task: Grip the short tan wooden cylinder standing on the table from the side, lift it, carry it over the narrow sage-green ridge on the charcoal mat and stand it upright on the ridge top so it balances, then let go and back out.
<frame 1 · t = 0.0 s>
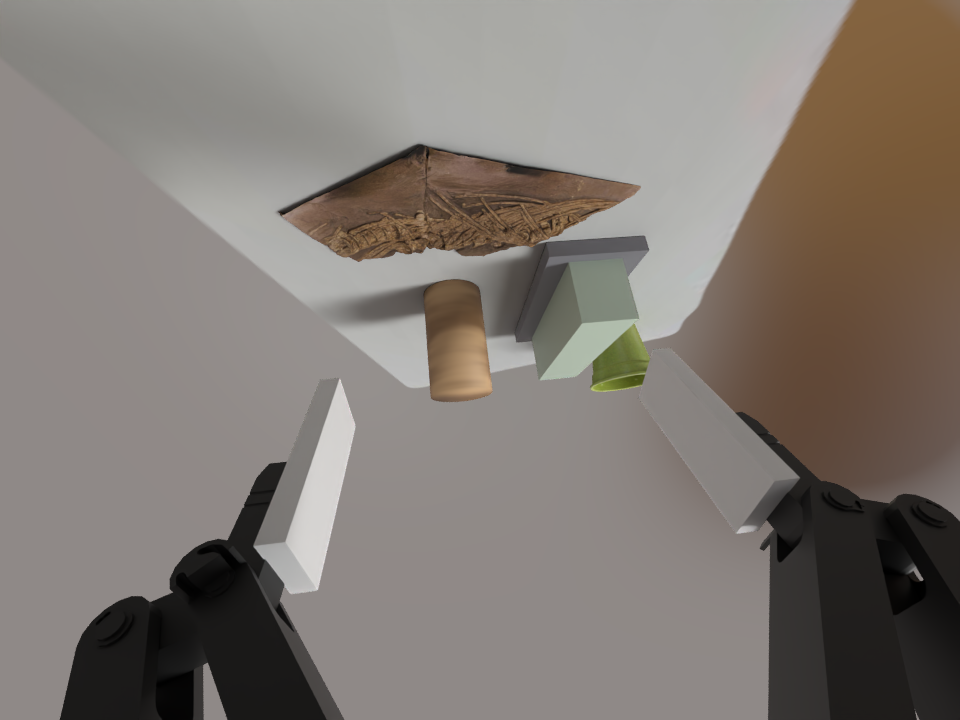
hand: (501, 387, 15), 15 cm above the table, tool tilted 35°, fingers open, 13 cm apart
wooden fragment: (466, 202, 26), on the table
plant pot: (611, 325, 52), on the table
tan wooden cylinder: (452, 294, 38), on the table
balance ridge: (565, 294, 41), on the table
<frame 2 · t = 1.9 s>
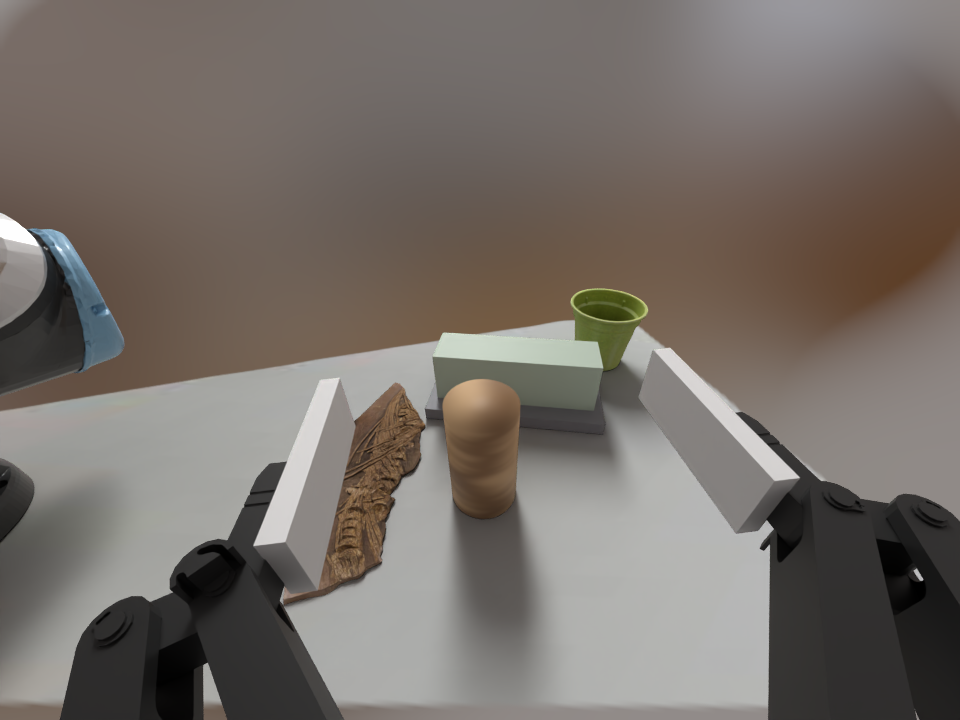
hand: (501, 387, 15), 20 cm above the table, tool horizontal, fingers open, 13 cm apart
wooden fragment: (366, 465, 37), on the table
plant pot: (596, 359, 51), on the table
tan wooden cylinder: (483, 489, 34), on the table
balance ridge: (514, 399, 44), on the table
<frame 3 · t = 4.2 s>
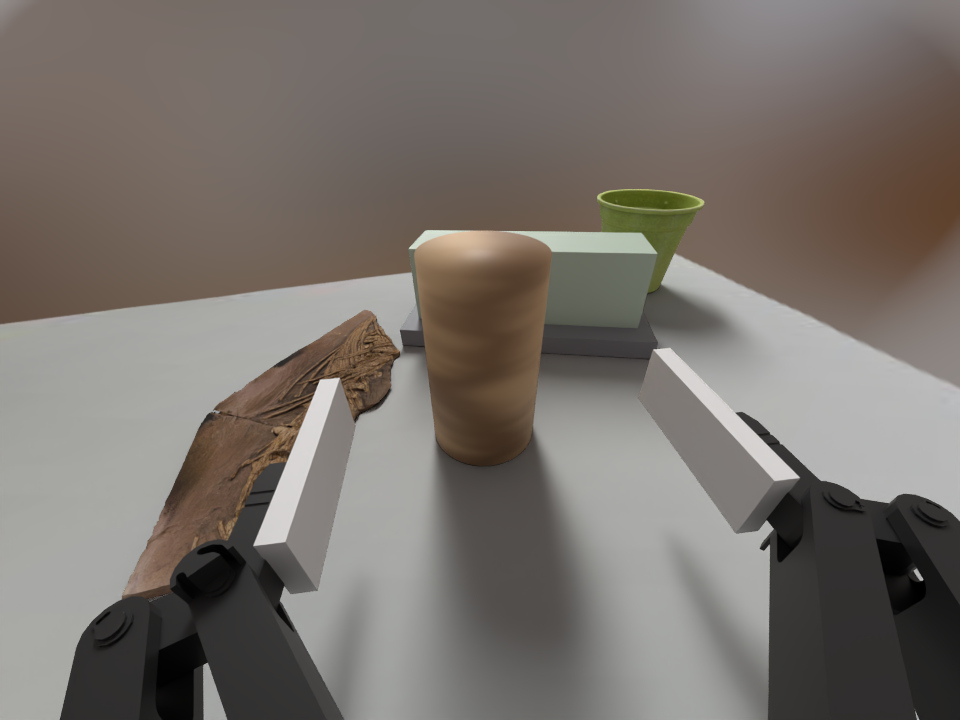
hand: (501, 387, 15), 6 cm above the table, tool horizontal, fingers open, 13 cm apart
wooden fragment: (310, 402, 25), on the table
plant pot: (628, 285, 39), on the table
tan wooden cylinder: (483, 426, 22), on the table
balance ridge: (524, 324, 32), on the table
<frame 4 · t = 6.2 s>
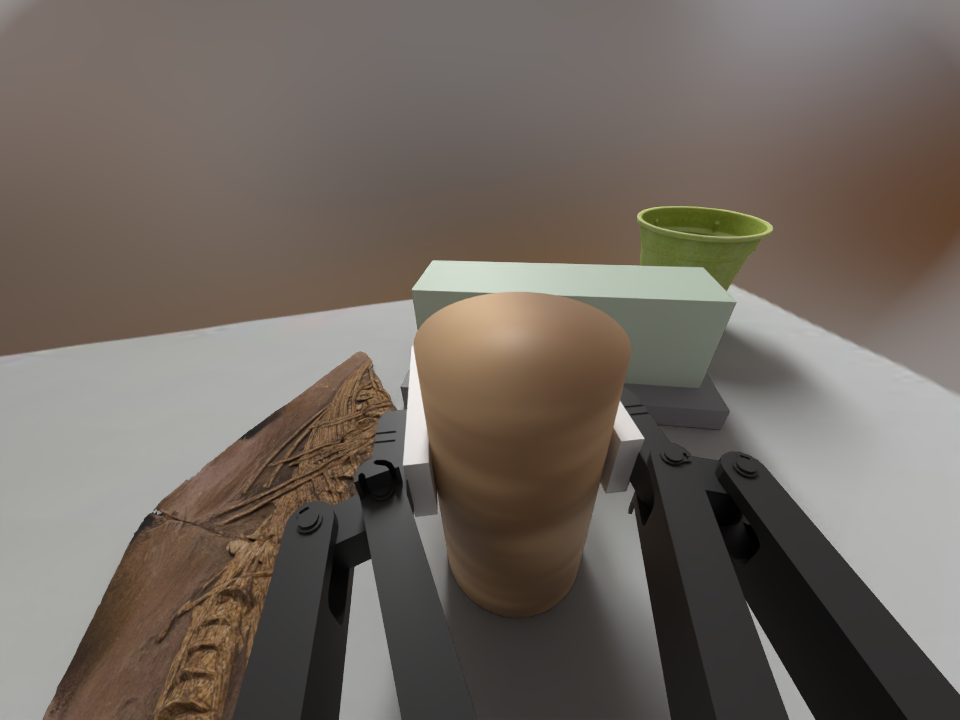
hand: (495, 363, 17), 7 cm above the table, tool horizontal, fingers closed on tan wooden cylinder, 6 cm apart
wooden fragment: (284, 491, 20), on the table
plant pot: (669, 318, 33), on the table
tan wooden cylinder: (512, 541, 16), on the table, touching gripper
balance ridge: (551, 373, 27), on the table
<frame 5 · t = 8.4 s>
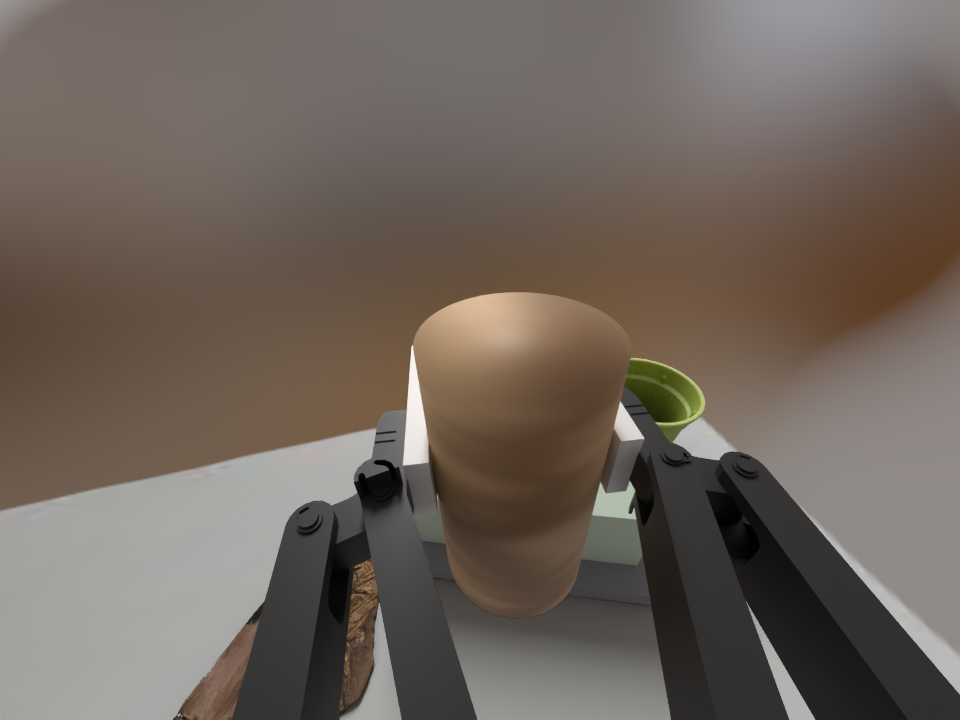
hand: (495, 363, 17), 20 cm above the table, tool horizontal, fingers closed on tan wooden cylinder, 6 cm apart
wooden fragment: (286, 681, 23), on the table
plant pot: (626, 451, 37), on the table
tan wooden cylinder: (512, 542, 16), point 14 cm above the table, touching gripper
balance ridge: (517, 531, 31), on the table
when the fingers open (15 cm above the table, at t = 10.5 s): tan wooden cylinder drops 1 cm, resting on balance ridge.
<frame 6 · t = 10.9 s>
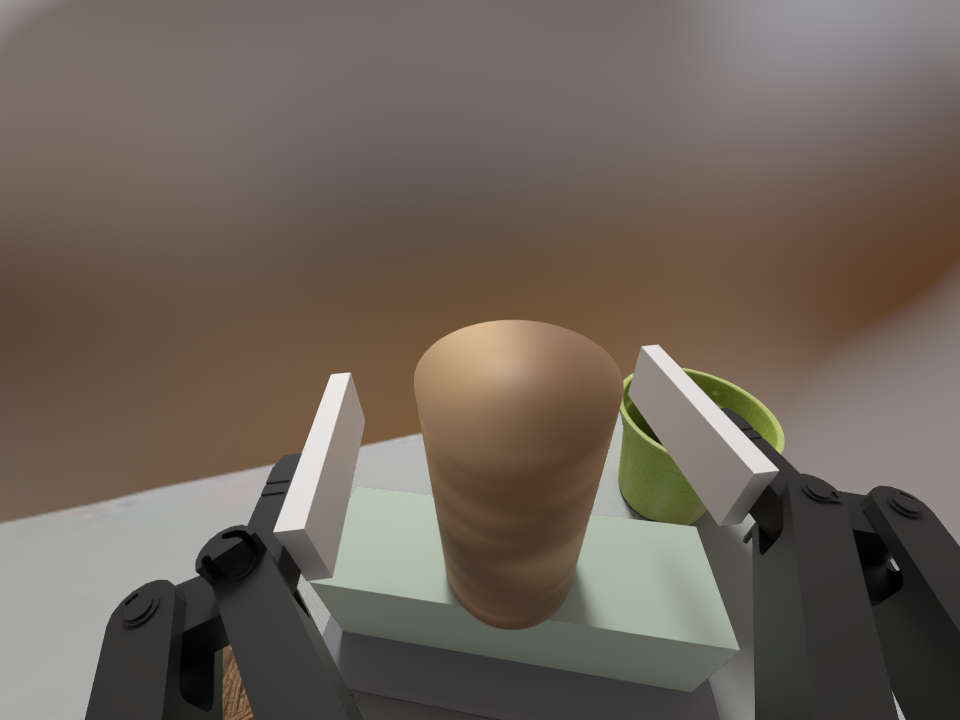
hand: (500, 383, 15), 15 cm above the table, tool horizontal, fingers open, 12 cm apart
plant pot: (658, 492, 28), on the table
tan wooden cylinder: (508, 554, 17), point 8 cm above the table, touching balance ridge
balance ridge: (508, 615, 21), on the table
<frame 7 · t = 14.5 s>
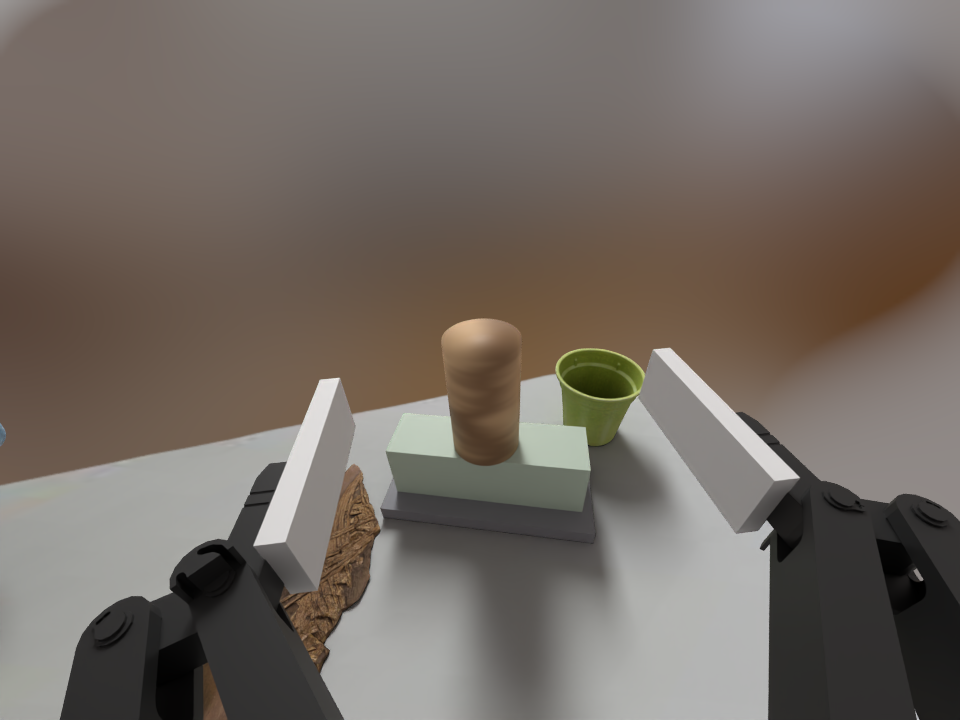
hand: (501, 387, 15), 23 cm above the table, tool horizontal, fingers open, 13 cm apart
wooden fragment: (303, 590, 30), on the table
plant pot: (589, 429, 44), on the table
tan wooden cylinder: (486, 439, 33), point 8 cm above the table, touching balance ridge
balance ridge: (489, 488, 37), on the table
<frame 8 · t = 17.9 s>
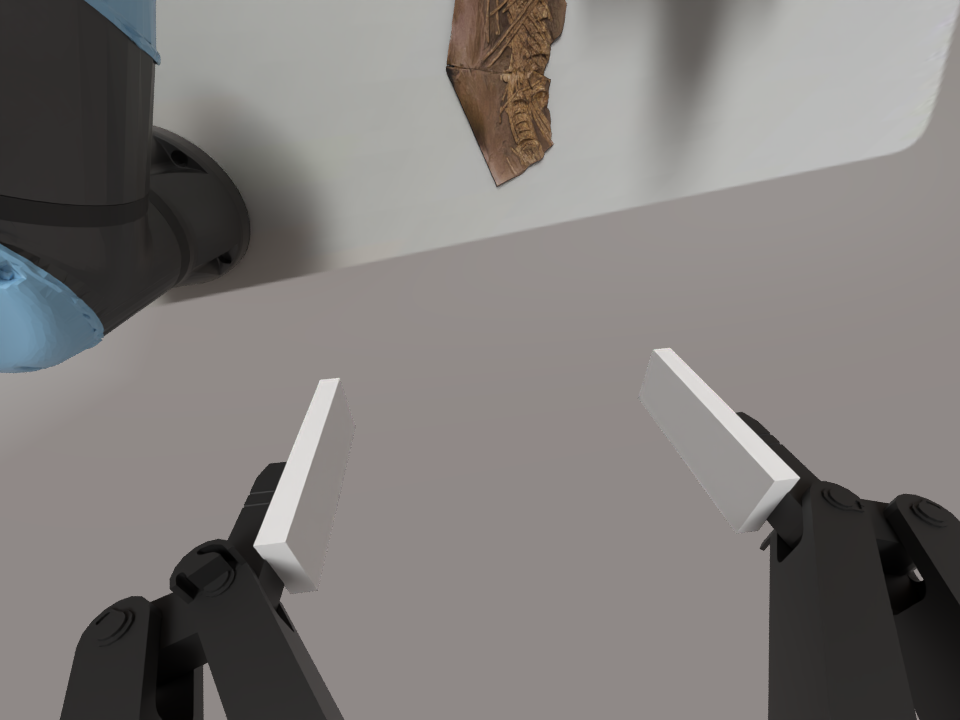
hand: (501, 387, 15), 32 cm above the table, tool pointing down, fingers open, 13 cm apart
wooden fragment: (502, 30, 33), on the table
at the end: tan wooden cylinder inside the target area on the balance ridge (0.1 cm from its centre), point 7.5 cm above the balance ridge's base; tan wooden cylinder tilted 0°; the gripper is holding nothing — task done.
